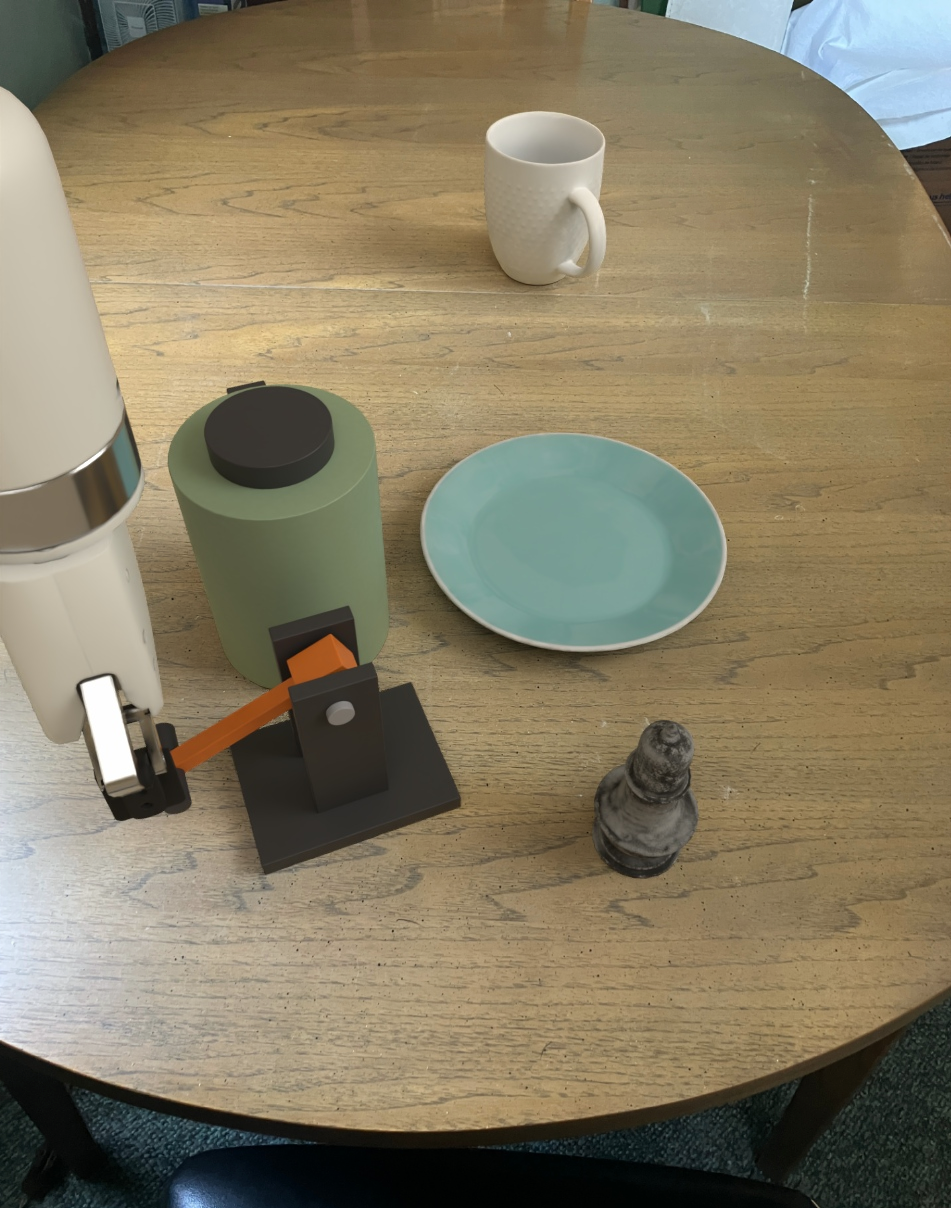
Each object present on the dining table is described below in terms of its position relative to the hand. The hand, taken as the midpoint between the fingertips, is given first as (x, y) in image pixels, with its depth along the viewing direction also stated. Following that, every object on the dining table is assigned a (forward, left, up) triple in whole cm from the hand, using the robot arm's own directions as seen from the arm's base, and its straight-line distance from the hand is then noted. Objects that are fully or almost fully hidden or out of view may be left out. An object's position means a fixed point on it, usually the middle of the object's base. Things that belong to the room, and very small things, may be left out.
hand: (134, 724), depth 47 cm
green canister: (+11, +12, -11) cm, 20 cm away
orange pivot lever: (+6, 0, -3) cm, 7 cm away
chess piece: (+25, -10, -12) cm, 29 cm away
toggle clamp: (+10, 0, -11) cm, 15 cm away
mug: (+45, +48, -12) cm, 67 cm away
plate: (+31, +12, -12) cm, 35 cm away
